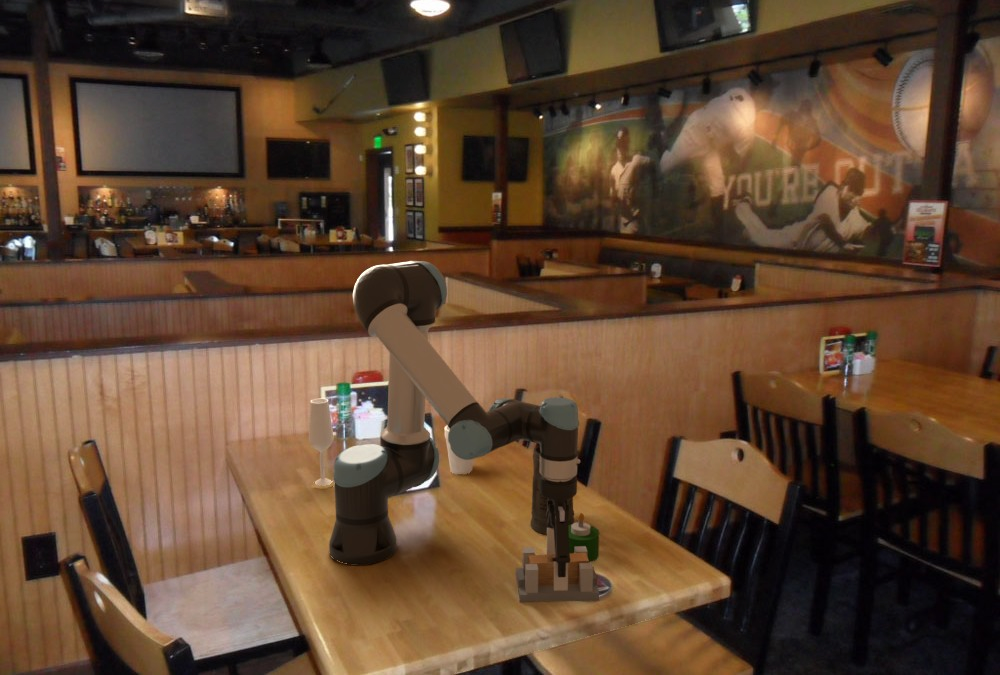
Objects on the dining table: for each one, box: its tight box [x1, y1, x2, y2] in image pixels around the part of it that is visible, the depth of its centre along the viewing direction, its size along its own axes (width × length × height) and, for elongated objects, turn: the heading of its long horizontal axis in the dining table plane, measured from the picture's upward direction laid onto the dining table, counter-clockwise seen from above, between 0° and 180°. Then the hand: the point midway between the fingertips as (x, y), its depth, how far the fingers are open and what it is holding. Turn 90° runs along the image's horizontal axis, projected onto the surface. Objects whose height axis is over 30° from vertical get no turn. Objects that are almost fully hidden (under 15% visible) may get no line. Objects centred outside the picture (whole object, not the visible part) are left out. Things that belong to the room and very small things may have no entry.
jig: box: [515, 546, 600, 603], centre depth 159 cm, size 16×11×6 cm
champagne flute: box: [308, 397, 335, 486], centre depth 211 cm, size 7×7×24 cm
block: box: [528, 553, 590, 586], centre depth 159 cm, size 12×4×5 cm, turn 96°
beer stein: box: [530, 445, 575, 535], centre depth 188 cm, size 15×11×20 cm
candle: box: [568, 512, 600, 563], centre depth 173 cm, size 8×8×10 cm
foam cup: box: [444, 424, 475, 475], centre depth 222 cm, size 10×9×13 cm
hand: (556, 572), depth 159 cm, fingers open, 13 cm apart
